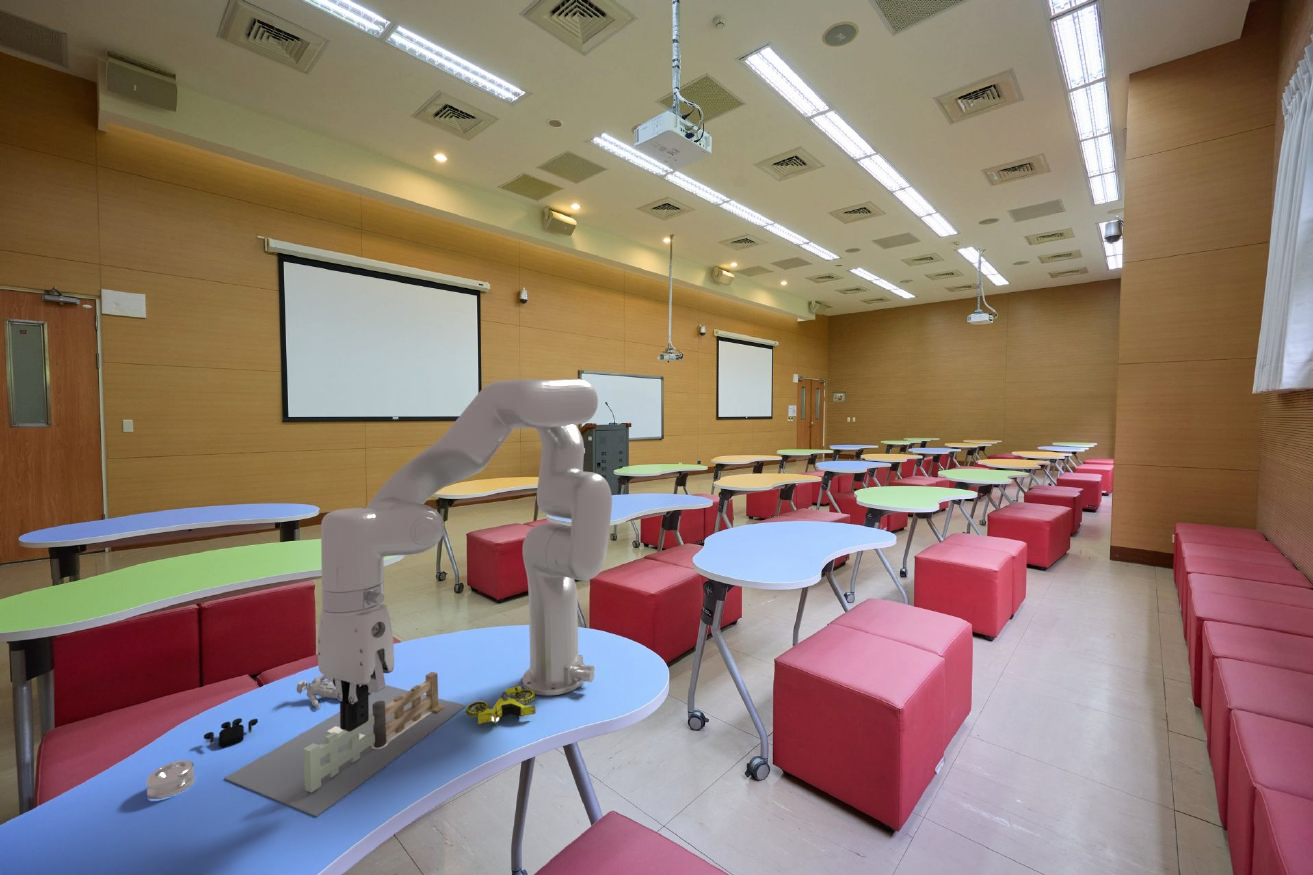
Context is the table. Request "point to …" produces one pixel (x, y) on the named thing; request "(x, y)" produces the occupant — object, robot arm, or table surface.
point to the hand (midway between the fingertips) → (354, 725)
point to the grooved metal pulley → (170, 779)
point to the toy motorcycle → (504, 706)
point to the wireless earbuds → (231, 732)
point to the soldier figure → (318, 689)
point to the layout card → (285, 764)
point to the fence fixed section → (400, 715)
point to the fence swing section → (334, 754)
